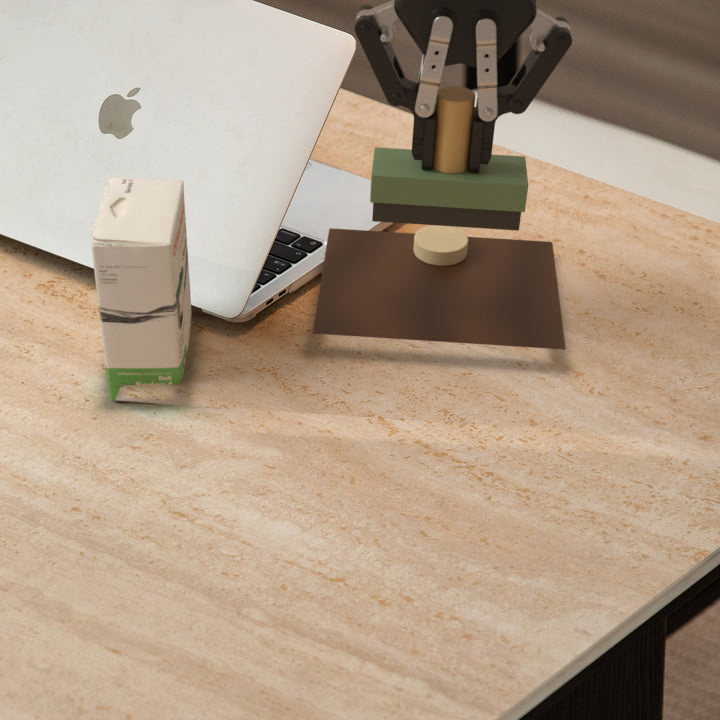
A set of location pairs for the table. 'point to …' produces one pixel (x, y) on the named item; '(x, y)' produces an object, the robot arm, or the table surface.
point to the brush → (449, 177)
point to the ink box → (142, 282)
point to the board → (439, 291)
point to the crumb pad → (440, 245)
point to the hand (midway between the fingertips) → (450, 164)
